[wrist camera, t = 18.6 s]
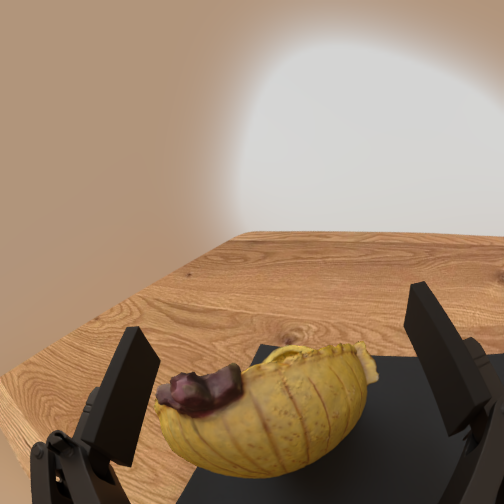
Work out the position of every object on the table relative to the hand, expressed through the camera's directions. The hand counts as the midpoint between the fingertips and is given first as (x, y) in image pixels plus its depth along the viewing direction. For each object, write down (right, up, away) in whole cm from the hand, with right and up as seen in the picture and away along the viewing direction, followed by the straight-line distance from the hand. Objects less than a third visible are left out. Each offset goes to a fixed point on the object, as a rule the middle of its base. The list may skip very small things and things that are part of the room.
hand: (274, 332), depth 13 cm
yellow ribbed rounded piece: (+2, -9, +3) cm, 10 cm away
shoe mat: (+15, -10, -2) cm, 18 cm away
